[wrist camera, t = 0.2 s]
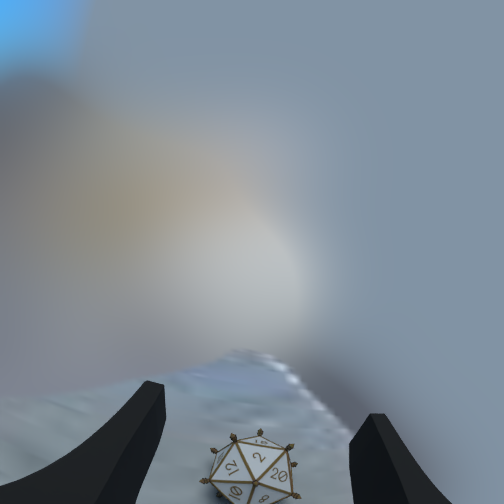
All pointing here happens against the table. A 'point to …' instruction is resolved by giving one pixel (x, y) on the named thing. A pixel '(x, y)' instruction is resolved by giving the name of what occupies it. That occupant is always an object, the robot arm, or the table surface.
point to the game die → (252, 471)
